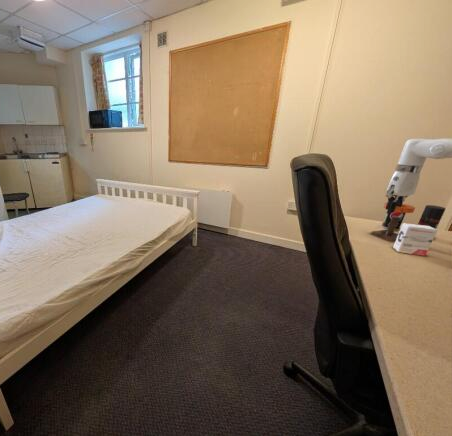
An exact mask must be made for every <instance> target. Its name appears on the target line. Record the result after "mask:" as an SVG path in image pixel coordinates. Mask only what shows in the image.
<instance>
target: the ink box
mask: <svg viewBox="0 0 452 436" xmlns="http://www.w3.org/2000/svg"><path fill="white" fill-rule="evenodd" d="M437 232H438V230H437V228H436V229H434V228H432V227H430V226H424V225H418V224H414V223H407V222H405V223H404V222H402V224H401V226H400V228H399V232H398V233H397V234H398V236H397V239H396V241H395V242H394V244H393V246H392V248H393V249H394V250H395V251H396V252H397V253H403V254H409V255H415V256H416V255H417V256H423V257H426V255H427V253H428V251H429V249H430V247H431V245H432V242H433V241H434V238H435V237H436V234H437Z"/></svg>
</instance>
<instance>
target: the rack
mask: <svg viewBox="0 0 452 436" xmlns="http://www.w3.org/2000/svg"><path fill="white" fill-rule="evenodd" d="M399 218H400V217H398V216H392V219H391V221H390V224H389V226H388V229H382V230H380V229H379V230H372V231H371V233H370V235H373V236H375V237H378V238H381V239H383V240H385V241H388V242H390V243H395V241H396V239H397V236H398V234H399V233H396V232H395V231H396V230H395V228H396V225H397V223H398V220H399Z"/></svg>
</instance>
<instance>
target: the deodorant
mask: <svg viewBox="0 0 452 436" xmlns="http://www.w3.org/2000/svg"><path fill="white" fill-rule="evenodd" d="M445 211H446V207H443V206H440V205H431V204H426V205H425V206H424V209H423V211H422V213H421V216H420V218H419V221H418V223H417V225H424V226H430V227H432V228H434V229H436V230H437V228H438V226H439V224H440V222H441V220H442V217H443V215H444V213H445Z"/></svg>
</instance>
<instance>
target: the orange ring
mask: <svg viewBox="0 0 452 436" xmlns="http://www.w3.org/2000/svg"><path fill="white" fill-rule="evenodd" d="M387 203H388V202H385V203H384V206H383V208H384V209H385V208H386V205H387ZM415 209H416V207H415V206H413V205H410V204H406V203H402V206H401V207H398V206H396V207H395V210H394V211H396V212H402V213H406V214H413V213H414V211H415Z"/></svg>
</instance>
